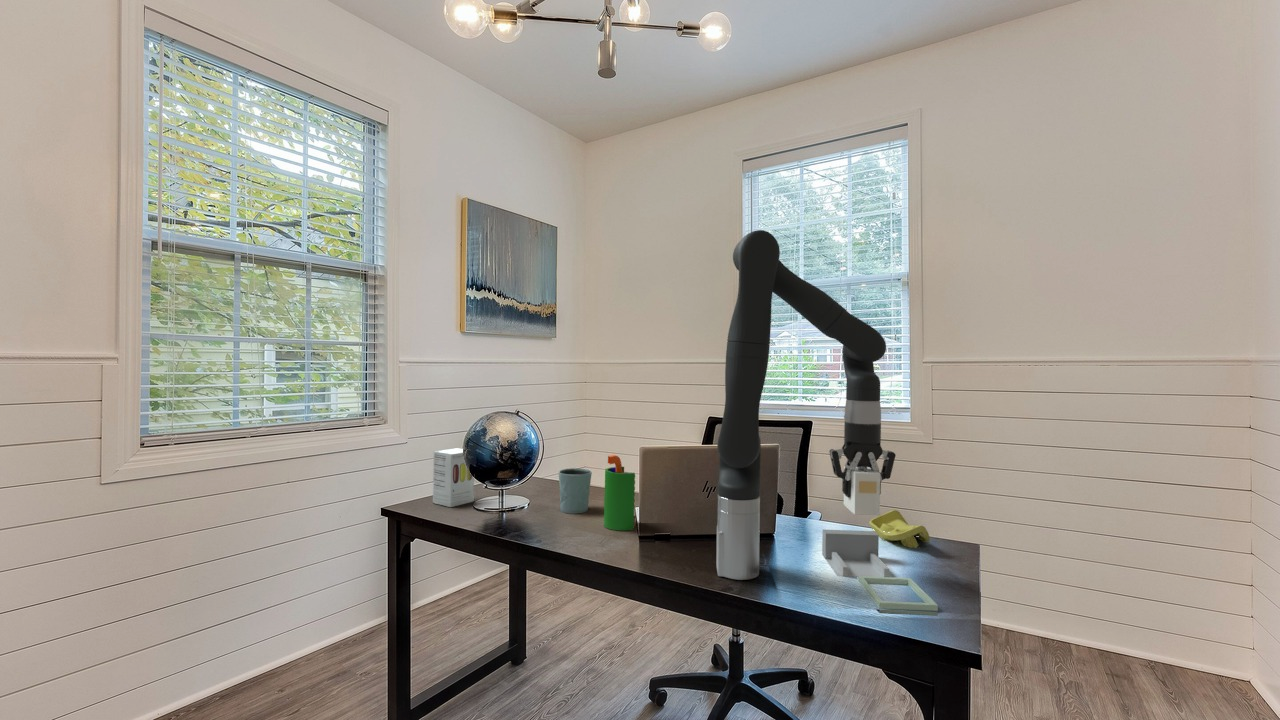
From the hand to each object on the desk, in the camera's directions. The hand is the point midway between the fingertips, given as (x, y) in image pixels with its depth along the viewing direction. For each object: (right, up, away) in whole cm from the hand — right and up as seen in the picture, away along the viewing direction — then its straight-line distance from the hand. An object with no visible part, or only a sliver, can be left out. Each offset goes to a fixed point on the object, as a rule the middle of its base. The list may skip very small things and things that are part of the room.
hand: (861, 496), depth 123 cm
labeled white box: (0, -3, 0) cm, 3 cm away
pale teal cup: (-69, -17, +49) cm, 87 cm away
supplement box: (-110, -16, +57) cm, 125 cm away
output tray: (+2, -17, -13) cm, 22 cm away
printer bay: (0, -17, +2) cm, 17 cm away
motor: (-55, -17, +34) cm, 67 cm away
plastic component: (+19, -18, +23) cm, 35 cm away
